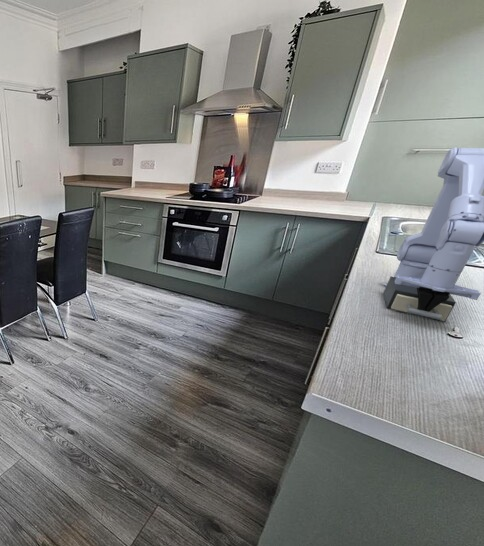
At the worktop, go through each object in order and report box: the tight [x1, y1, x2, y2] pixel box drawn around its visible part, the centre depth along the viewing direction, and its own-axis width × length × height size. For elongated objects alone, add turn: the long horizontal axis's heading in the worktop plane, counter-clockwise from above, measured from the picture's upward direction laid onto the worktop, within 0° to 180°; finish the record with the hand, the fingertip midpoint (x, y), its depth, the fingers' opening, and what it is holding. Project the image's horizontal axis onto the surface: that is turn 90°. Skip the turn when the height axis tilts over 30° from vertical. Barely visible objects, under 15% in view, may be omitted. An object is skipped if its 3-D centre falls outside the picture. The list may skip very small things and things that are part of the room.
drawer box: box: [382, 276, 457, 323], centre depth 90 cm, size 13×12×6 cm
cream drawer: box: [390, 293, 453, 322], centre depth 87 cm, size 17×10×4 cm, turn 141°
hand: (420, 314), depth 83 cm, fingers closed, pressing on cream drawer
